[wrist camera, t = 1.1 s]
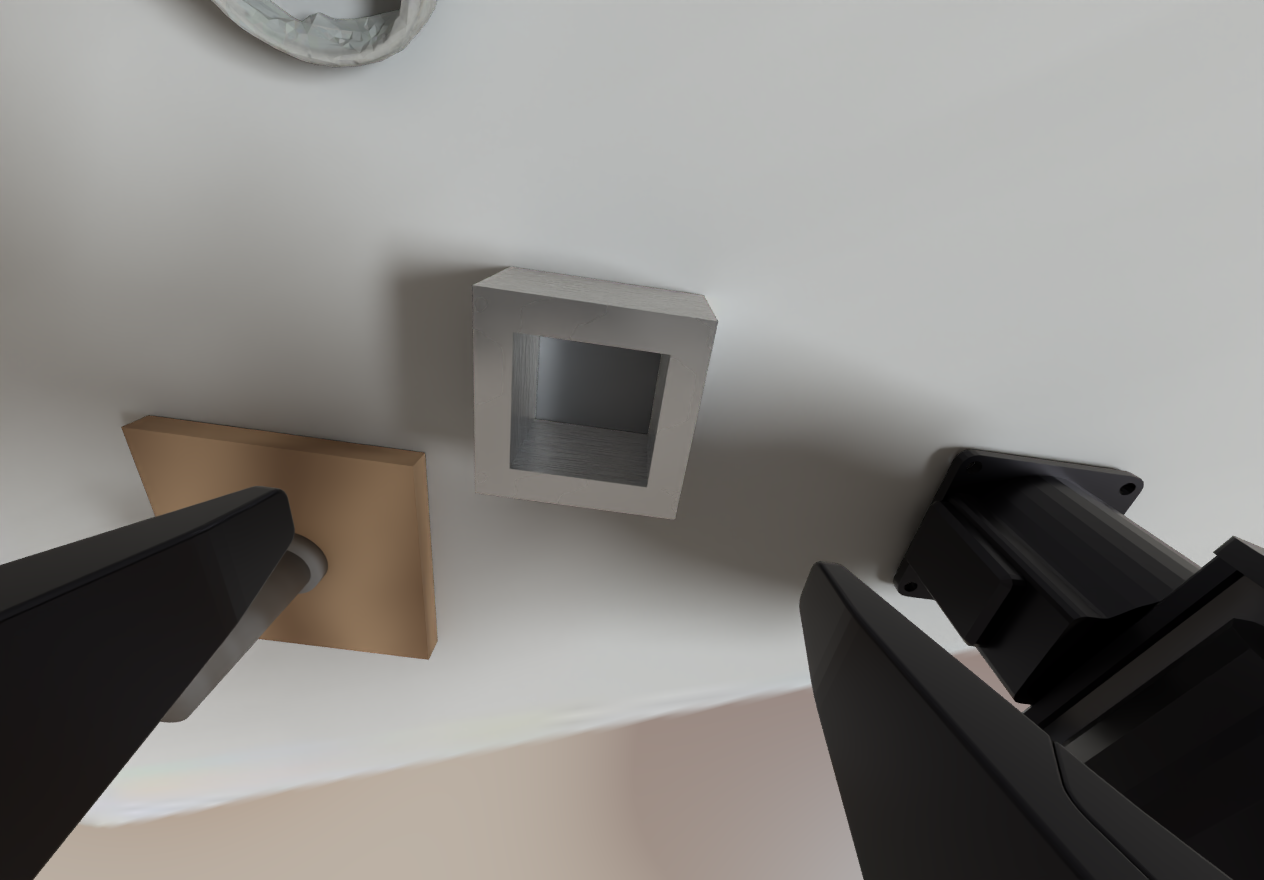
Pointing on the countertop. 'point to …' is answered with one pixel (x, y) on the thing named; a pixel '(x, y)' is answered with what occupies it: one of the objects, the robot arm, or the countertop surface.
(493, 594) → the countertop surface
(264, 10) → the ceramic mug
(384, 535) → the keeper
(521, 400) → the grey square socket
